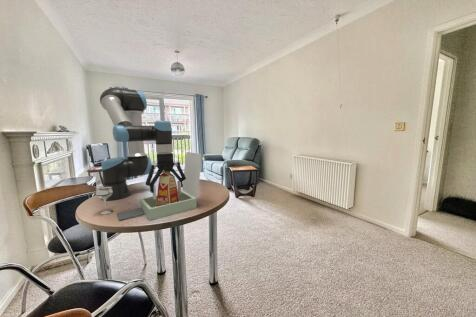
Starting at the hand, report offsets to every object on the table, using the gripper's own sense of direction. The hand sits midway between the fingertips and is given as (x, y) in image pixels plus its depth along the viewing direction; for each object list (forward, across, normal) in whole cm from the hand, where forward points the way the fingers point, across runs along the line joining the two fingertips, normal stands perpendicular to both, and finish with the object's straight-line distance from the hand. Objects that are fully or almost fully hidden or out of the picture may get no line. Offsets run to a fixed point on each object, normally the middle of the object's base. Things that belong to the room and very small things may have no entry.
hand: (167, 196), depth 98 cm
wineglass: (+6, -25, +15) cm, 30 cm away
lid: (-10, +13, 0) cm, 16 cm away
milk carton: (+7, 0, 0) cm, 7 cm away
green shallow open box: (+6, 0, 0) cm, 6 cm away
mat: (+6, -16, +4) cm, 18 cm away
